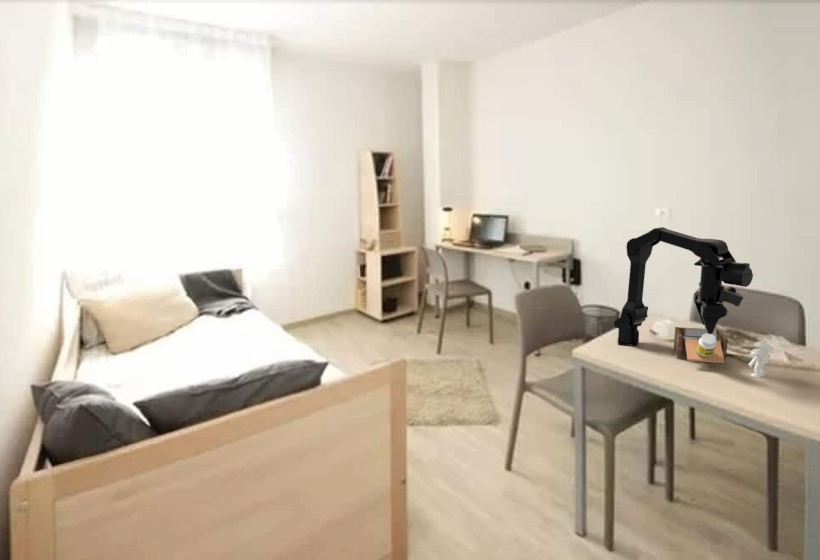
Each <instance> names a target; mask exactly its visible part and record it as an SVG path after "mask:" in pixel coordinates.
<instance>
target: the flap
mask: <svg viewBox="0 0 820 560" xmlns="http://www.w3.org/2000/svg"><path fill="white" fill-rule="evenodd" d="M684 328H685V334H684V337H683V340H685V345H686V350H685V353H686V358H687V361H689V362H690V361H692V362H703V363H715V364H725V363H724V357H723V352H722V348H721V343H722V339H718V336H717V331H716V330H714V331H713V333H712V334H713V335H714V336H715V337H716V348H715V351H714V354H713V356H712V357H711V358H709V359H703V358H701V357H699V356H698V355H697V353H696V350H697V346H698V343H699V340H700V338H701V337H702V335H703V334H706V333H708V332H707V329H706V328H701V329H691V328H692V327H684Z"/></svg>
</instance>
